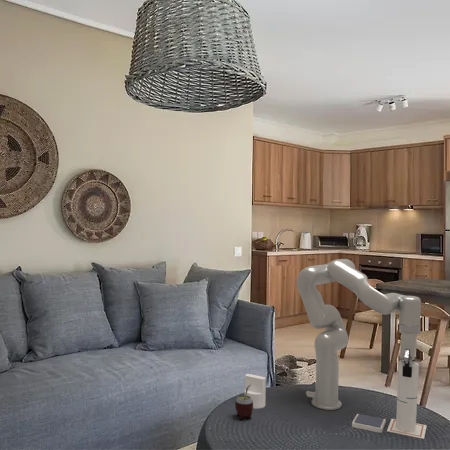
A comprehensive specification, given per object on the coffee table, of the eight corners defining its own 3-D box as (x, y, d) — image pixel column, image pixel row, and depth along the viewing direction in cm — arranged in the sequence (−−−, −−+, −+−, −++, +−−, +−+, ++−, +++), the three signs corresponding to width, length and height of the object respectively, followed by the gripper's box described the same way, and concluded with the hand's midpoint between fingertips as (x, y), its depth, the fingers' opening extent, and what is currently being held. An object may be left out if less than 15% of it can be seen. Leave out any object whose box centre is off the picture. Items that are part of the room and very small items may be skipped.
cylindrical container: (417, 432, 182) (420, 366, 182) (397, 430, 184) (400, 364, 183) (413, 425, 189) (416, 361, 189) (394, 422, 191) (397, 359, 190)
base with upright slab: (269, 403, 209) (269, 375, 209) (259, 410, 201) (259, 381, 201) (250, 399, 214) (251, 371, 214) (240, 405, 206) (241, 377, 206)
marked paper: (386, 431, 184) (386, 430, 184) (391, 419, 195) (391, 418, 195) (423, 438, 178) (424, 438, 178) (426, 425, 189) (426, 425, 189)
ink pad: (351, 426, 187) (352, 422, 187) (357, 417, 196) (357, 412, 196) (381, 433, 182) (381, 428, 182) (385, 423, 191) (385, 418, 191)
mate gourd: (240, 412, 198) (240, 376, 198) (257, 416, 195) (258, 379, 195) (231, 419, 192) (232, 381, 192) (249, 423, 188) (250, 384, 188)
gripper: (401, 323, 195) (400, 365, 196) (396, 331, 180) (395, 378, 180) (422, 325, 192) (420, 368, 192) (418, 334, 177) (416, 381, 177)
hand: (408, 373), depth 186 cm, fingers open, 9 cm apart
